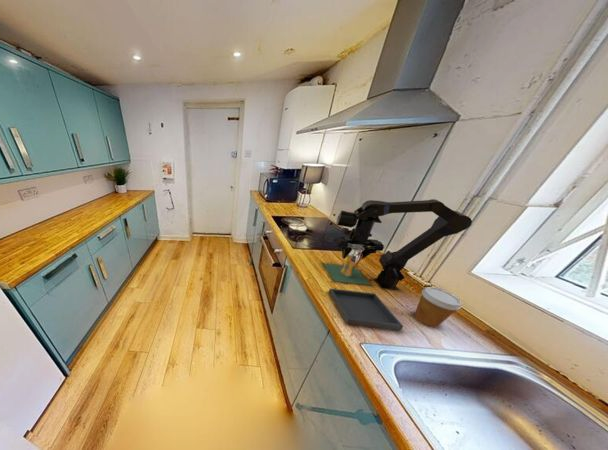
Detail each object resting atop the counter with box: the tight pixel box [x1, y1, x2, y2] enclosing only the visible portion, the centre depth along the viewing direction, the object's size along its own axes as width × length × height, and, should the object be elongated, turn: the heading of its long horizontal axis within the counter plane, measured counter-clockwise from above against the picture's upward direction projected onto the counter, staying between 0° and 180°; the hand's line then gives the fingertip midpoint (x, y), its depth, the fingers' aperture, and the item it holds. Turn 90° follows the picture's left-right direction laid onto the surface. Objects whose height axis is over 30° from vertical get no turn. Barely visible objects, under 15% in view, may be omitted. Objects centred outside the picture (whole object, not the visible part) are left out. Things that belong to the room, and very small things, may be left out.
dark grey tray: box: [327, 288, 404, 332], centre depth 76 cm, size 18×16×2 cm
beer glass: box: [339, 245, 365, 277], centre depth 93 cm, size 7×7×15 cm
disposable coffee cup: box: [413, 286, 463, 328], centre depth 71 cm, size 10×10×12 cm
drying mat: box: [322, 263, 373, 287], centre depth 97 cm, size 16×14×1 cm
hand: (351, 259), depth 93 cm, fingers closed on beer glass, 7 cm apart
